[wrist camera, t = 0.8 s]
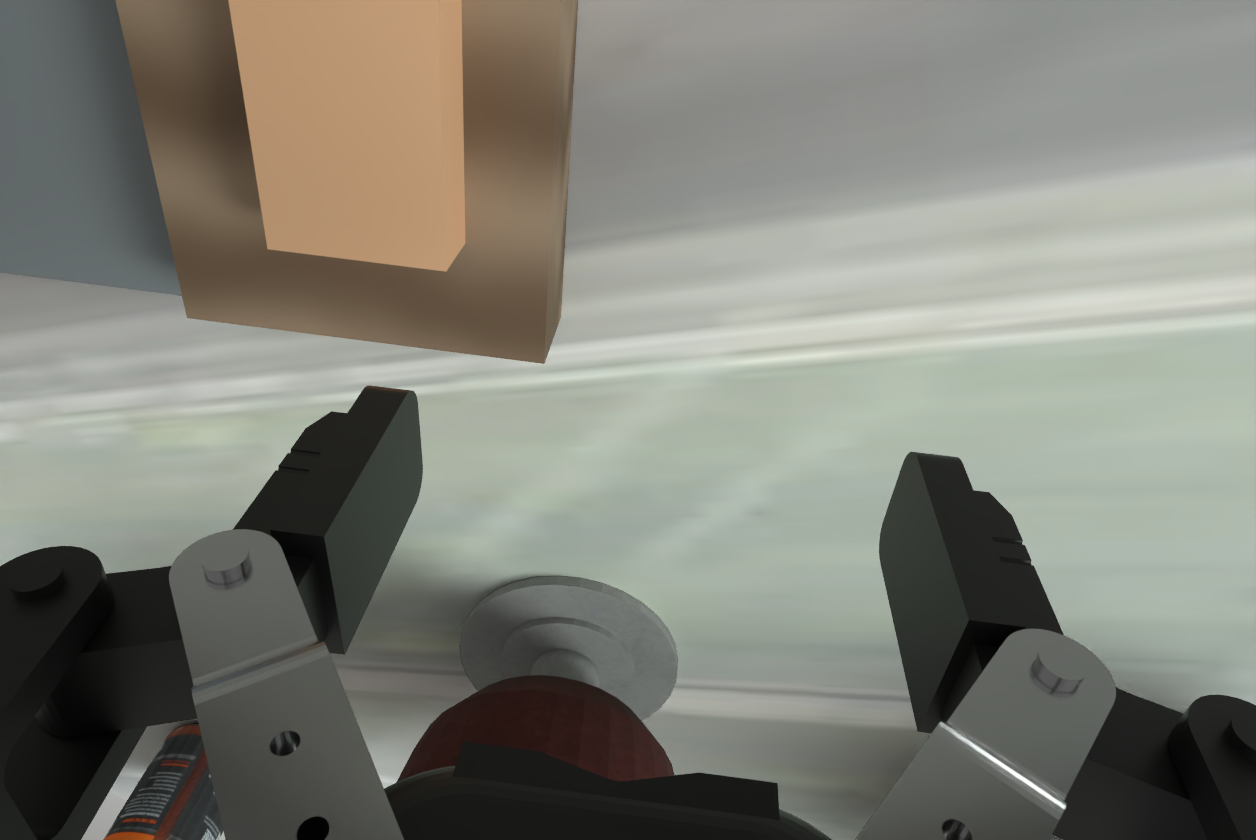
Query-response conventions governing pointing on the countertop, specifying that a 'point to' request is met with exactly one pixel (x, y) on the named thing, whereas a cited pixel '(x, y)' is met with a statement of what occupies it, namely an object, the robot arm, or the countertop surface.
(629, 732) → the mate gourd
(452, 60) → the tan rectangular block
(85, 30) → the slate mat
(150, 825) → the supplement bottle
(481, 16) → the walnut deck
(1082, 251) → the countertop surface
